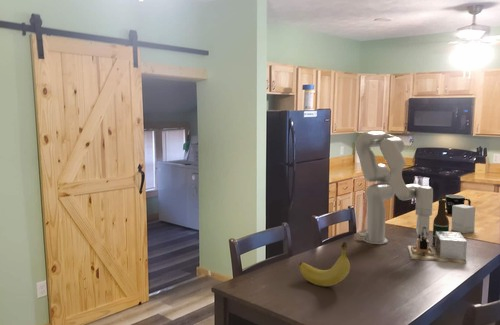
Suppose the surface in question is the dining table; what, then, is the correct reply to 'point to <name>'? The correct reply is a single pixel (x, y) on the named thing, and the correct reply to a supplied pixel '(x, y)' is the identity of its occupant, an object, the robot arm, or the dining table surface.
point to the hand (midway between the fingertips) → (422, 246)
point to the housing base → (430, 255)
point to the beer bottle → (440, 220)
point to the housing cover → (451, 245)
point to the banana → (327, 271)
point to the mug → (454, 201)
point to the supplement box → (463, 218)
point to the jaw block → (419, 246)
